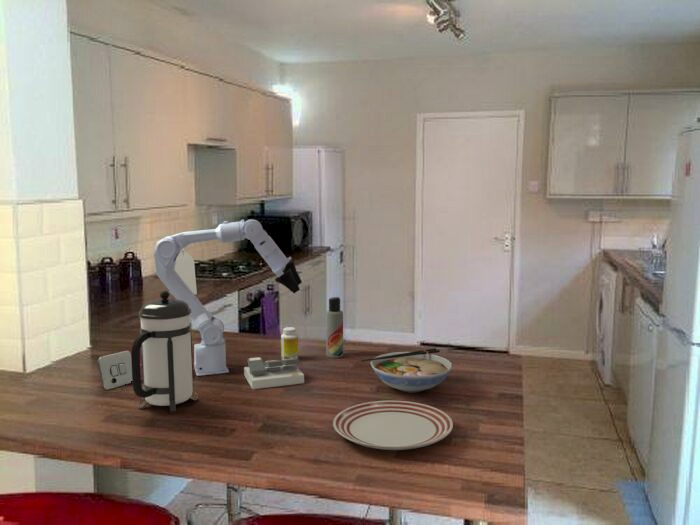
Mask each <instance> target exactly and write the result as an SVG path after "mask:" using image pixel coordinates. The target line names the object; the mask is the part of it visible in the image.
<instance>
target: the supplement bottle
mask: <svg viewBox="0 0 700 525" xmlns="http://www.w3.org/2000/svg"><path fill="white" fill-rule="evenodd" d="M296 332H297V330H296V327H293V326H292V327H291V326H290V327H289V326H287V327H284V328H283V332H282V334H281V335H280V356H281V357H280V358H281V360H282V359H290V358H293V359H299V335H298V334H297V333H296Z"/></svg>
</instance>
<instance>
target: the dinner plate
mask: <svg viewBox="0 0 700 525" xmlns="http://www.w3.org/2000/svg"><path fill="white" fill-rule="evenodd" d="M332 424H333V425H332V426H333V428H334V430H335V432H337V433H338V434H339V435H340V436H342V437H343V438H344V439H346V440H348V441H350V442H353V443H355V444H357V445H360V446H363V447H367V448H371V449H376V450H377V449H378V450H386V451H387V450H388V451H404V450H411V449H417V448H419V449H420V448H423V447H427V446H430V445H432V444H435V443H438V442H439V441H442V440H443V439H445V438H446V437H447V436H449V434H450V433H451V432H452V431H453V428H454V423H453V420H452V418H451V417H450V416H449V415H448V414H447V413H445V412H444V410H441V409H438V408H436V407H434V406H431V405H428V404H425V403H419V402H415V401H414V402H413V401H408V400H407V401H405V400H377V401H368V402H362V403H360V404H359V403H358V404H356V405H352V406H349V407H347V408H344V409H343V410H342V411H340V412H339V413H337V414H336V416H335V417H334V418H333V422H332Z"/></svg>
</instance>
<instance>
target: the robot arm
mask: <svg viewBox="0 0 700 525" xmlns="http://www.w3.org/2000/svg"><path fill="white" fill-rule="evenodd" d="M245 239H247V240H250V242H251V244H253V246H254V249H255V250H256V251H257V253H258V254H259V255H260V256H261V258H262V259H263V260H264V262H266V263H267V265H268V267H269V268H270V269H271V271H272V273H274V274H275V276H277V277H275V279H274V281H275V283H279V284H281V285H282V286H284V287H286V289H288V290H289V291H290V292H291V293H293V294H296V293H297V292H299V291H300V287H299V285H301V284H302V282H303V281H302V279H301V277H300V275H299V272H298V271H297V268H296V265H295V261H294V260H293V259H292V257H291V256H289V257H286V255H285V254H284V253H283V251H282V250H281V249H280V247H279V246H278V244H276V242H275V241H274V239H273V238H272V237H271V235H268V232H267V231H266V230H265V229H264V228H263V226H262V224H261V222H260V221H258V220H256V219H247V220H246V221H245V219H241V220H240V221H232V222H229V221H228V220H224V221H223V223H220V224H218V226H217V227H216V228H213V229H211V228H210V229H203V230H192V231H191V230H190V231H183V232H178V233H175V234H173V235H166V236H165V237H163V238H162V239H160V240H158V241H157V242H156V243H155V244H156V245H155V247H154V251H153V257H154V264H155V274H156V276H157V277H158V279H159V280H160V281H161V282H162V283H163V285H164V286H165V287H166V288H167V290H168V291H170V292H171V293H172V294H171V293H170V294H171V295H172V296H173V297H174V299H178V300H182V301H184V302H186V303H187V304H188V306H189V308H190V309H191V314H190V319H192V320H193V322H194V324H195V327H196V328H197V329H196V330H198V332H199V334H200V338H201V340H200V343H195V344H194V345H193V346H194V347H193V352H194V353H193V357H194V359H193V360H194V361H193V368H194V370H195V371H194V372H195V374H196V376H197V377H199V376H211V375H219V374H228V373H230V371H229V368H228V367H227V360H226V359H227V358H226V339H225V338H224V337H223V335H224V334H223V333H224V330H225V324H224V323H223V321H222V320H221V319H219V318H217V317H215V316H214V314H212V312H210V311H208V310H207V308H206V307H205V306H204V305H203V304H202V302H201V301H200V300H199V299H198V297H197V296H196V294H193V292H192V291H191V290H190V289H189V287H188V286H187V285H186V284H185V282H184V281H183V280H182V279H181V277H180V276H179V275H178V274H177V272H176V271H175V270H174V268H175V263H176V258H177V256H178V255H179V253H180V251H181V250H182V249H183V248H184V249H185V248H186V247H188V246H189V245H191V244H195V243H201V242H207V241H208V242H209V241H214V240H218V241H220V242H221V243H223V244H225V243H231V242H239V241H244V240H245Z"/></svg>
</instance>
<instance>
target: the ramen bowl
mask: <svg viewBox="0 0 700 525" xmlns="http://www.w3.org/2000/svg"><path fill="white" fill-rule="evenodd" d="M437 353H440V349H437V348H435V347H434V348H429V349H427V348H426V349H423V350H418V351H417V350H414V351H396V352H389V353H384V354H380V355H377V356H375V357H373V358H368V359H361V360H360V362H369V361H370V365H371V367H372V369H373V371H374V373H375V374H376V376H377V377H378V379H379V380H380V381H381V382H382V383H384V384H385V385H387V386H389V387H391V388H393V389H396V390H399V391H400V392H403V393H404V392H405V393H410V394H413V393H420V392H423V391H425V390H426V391H427V390H430V389H432V388H434V387H436V386H438V385H439V384H441V383H442V382H443V381H444V380H445V379H446V378H447V377H448V375H449V374H450V372H451V370H452V367H453V363H452V362H451V361H450V360H449V359H448V358H446V357H442V356H440V355H437Z"/></svg>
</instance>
